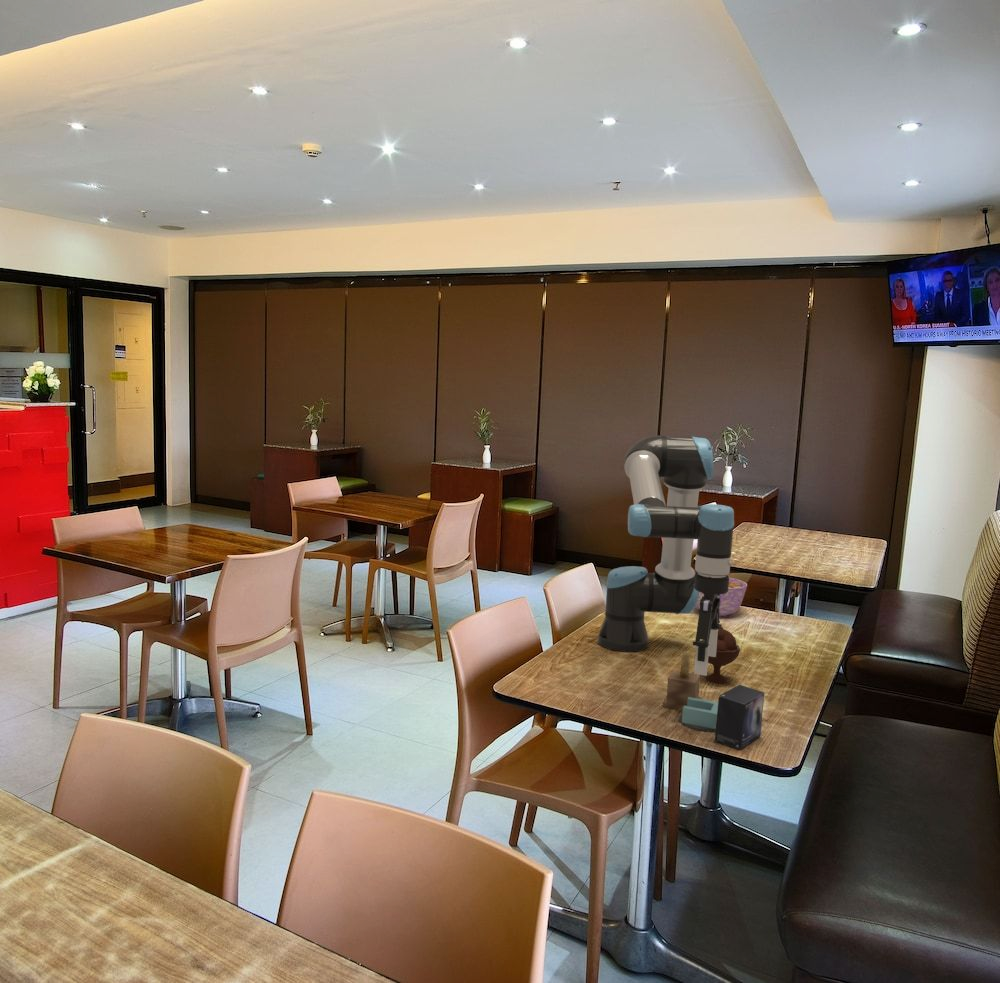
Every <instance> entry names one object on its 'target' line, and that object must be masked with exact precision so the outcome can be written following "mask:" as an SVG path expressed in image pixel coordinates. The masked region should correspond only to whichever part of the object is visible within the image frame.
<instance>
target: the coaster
mask: <svg viewBox="0 0 1000 983" xmlns="http://www.w3.org/2000/svg"><path fill="white" fill-rule="evenodd" d="M682 714H683V712H682V713H681V714H680V715H679V717H678V721H679V722H680V723H681V725H683V726H684V727H687V728H689V729H691V730H695V731H700V732H715V731H716V729H713V728H707V727H702V726H697V725H692V724H687V723H682Z"/></svg>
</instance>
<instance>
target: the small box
mask: <svg viewBox="0 0 1000 983" xmlns="http://www.w3.org/2000/svg"><path fill="white" fill-rule="evenodd" d="M717 702H718V710H717V721H716V731H714V732H715V733H714V740H713V741H714V742H716V743H719V744H721V745H725V746H727V747H731V748H733V749H736V750H742V749H744V748H746V747H747V746H748V745H749V744H751V743H753V742H754V741H756V740H758V739H759V738H761V735H762V722H763V712H764V710H763V709H764V702H765V692H764V691H761V690H758V689H755V688H751V687H748V686H745V685H742V684H738V685H736V686H735V687H733V688H730V689H728V690H727V691H725V692H722V693H721V694H719V695H718V700H717Z"/></svg>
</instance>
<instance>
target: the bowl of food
mask: <svg viewBox="0 0 1000 983" xmlns="http://www.w3.org/2000/svg"><path fill="white" fill-rule="evenodd" d="M747 587H748V583H747V582H745V581H743V580H740V579H738V578H733V577H729V589H728V592H727V593H725V594H720V615H719V616H724V617H727V616H728V615H731V614H733V613H735V612H737V611H738V610H739V609H740V608H741V605H742V602H743V600H744V597H745V594H746V591H747ZM702 597H704V594H703V593H702V592H699V596H698V601H697V604H696V607H695V609H696V608H697V609H698V610H699V611H700V600H701V599H702Z"/></svg>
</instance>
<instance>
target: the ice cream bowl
mask: <svg viewBox="0 0 1000 983" xmlns="http://www.w3.org/2000/svg"><path fill="white" fill-rule="evenodd" d="M716 629H717V628H716ZM717 630H718V636H717V649H716V657H711V656H708V664H710V665H712V666H713V671H712V672H713V673H710V674H707V676H705V680H706V681H708V682H709V683H714V684H718V685H719V684H720V685H721V684H725V683H728V682H727V678H726V677H725V676H724V675H722V674H721V668H722V667H724V666H727V665H729V664H731V663H733V662H734V661H735V660H736V659H737V658H738V657H739V655H740V652H741V648H740V646H739V644H737V640H736V637H735V636H734V635H733V633H732V632H730V631H729V630H727V629H724V627H722V626H721V629H717ZM701 641H704V640H701Z"/></svg>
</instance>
